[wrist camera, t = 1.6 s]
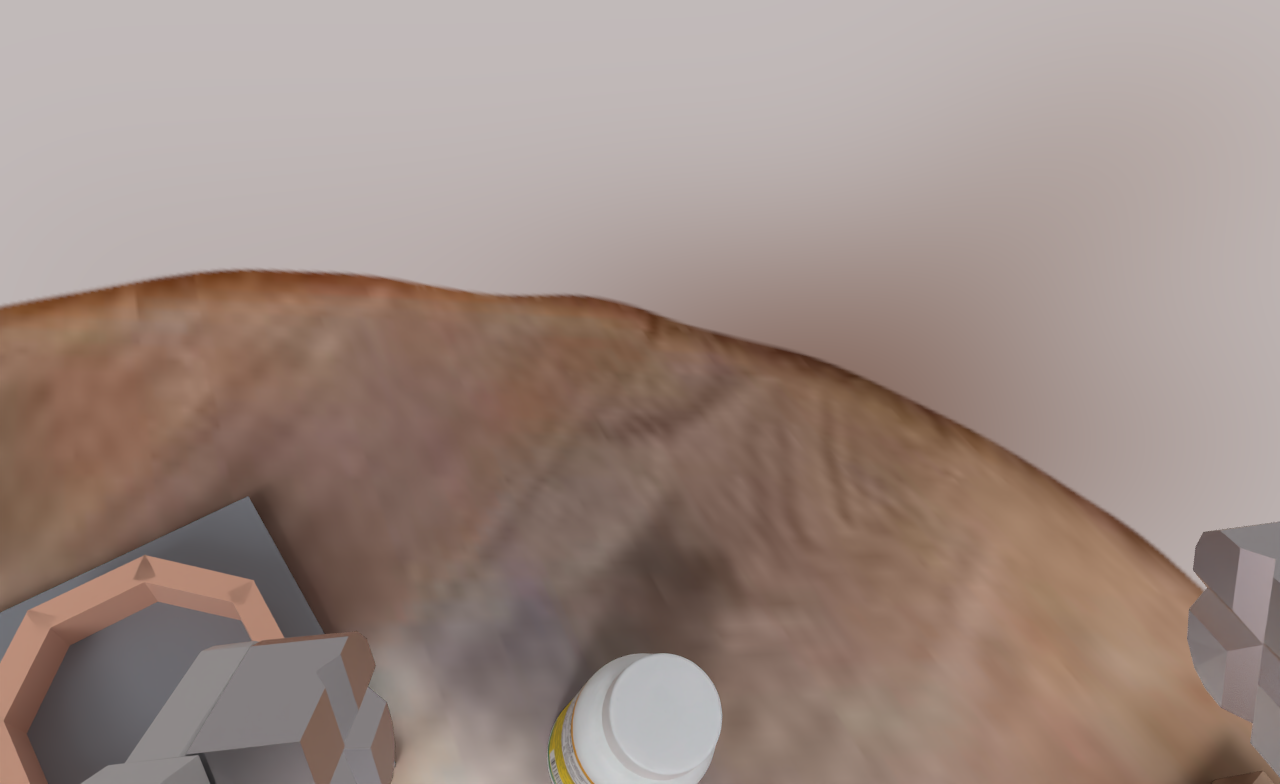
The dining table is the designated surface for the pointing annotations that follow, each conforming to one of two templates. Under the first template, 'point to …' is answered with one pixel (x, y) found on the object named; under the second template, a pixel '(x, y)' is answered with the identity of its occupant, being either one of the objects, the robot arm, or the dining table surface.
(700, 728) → the supplement bottle
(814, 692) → the dining table surface
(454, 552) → the dining table surface
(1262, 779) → the walnut compartment tray
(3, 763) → the collar holder
